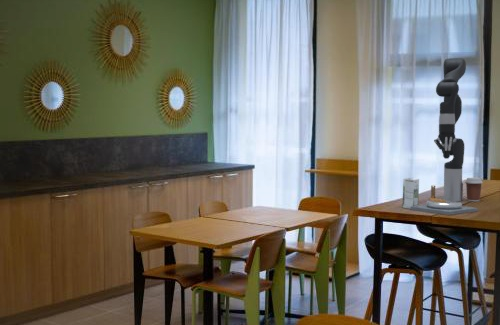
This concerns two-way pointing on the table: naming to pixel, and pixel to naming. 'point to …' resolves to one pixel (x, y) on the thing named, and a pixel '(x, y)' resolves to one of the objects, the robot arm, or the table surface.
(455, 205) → the dial
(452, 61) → the robot arm
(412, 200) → the syrup box
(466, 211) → the base
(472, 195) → the coffee cup
